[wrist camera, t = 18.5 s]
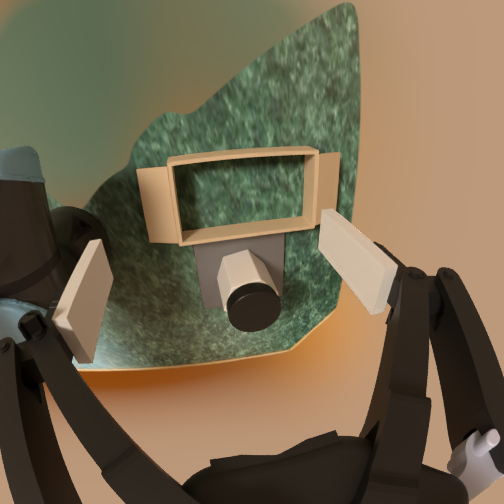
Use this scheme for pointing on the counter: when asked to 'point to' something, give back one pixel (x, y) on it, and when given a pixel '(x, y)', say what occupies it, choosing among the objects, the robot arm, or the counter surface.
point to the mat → (213, 253)
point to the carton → (170, 230)
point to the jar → (248, 292)
